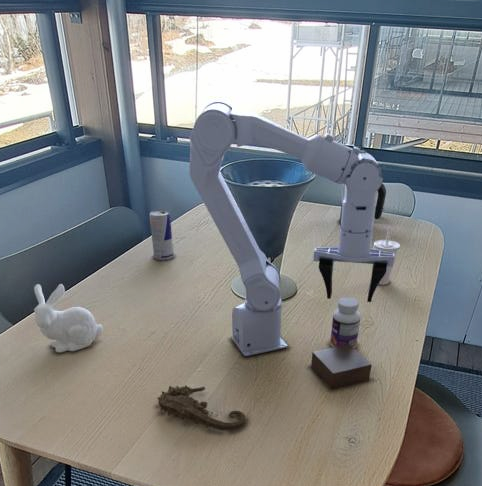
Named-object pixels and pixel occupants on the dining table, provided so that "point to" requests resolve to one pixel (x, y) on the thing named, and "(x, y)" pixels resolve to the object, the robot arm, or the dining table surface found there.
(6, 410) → the dining table surface
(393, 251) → the smoothie
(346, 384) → the walnut block
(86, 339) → the rabbit
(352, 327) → the pill bottle
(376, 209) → the milk frother
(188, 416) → the seahorse
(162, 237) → the energy drink
